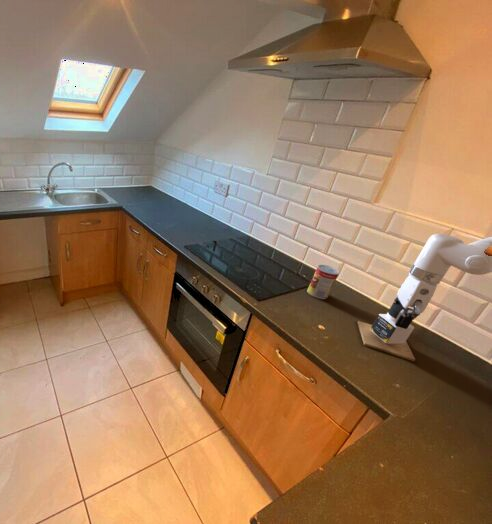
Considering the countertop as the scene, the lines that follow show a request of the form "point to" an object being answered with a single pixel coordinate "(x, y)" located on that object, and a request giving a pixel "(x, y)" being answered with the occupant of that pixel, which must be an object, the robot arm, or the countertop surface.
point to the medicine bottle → (391, 326)
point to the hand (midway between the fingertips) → (397, 319)
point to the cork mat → (383, 343)
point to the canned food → (322, 281)
